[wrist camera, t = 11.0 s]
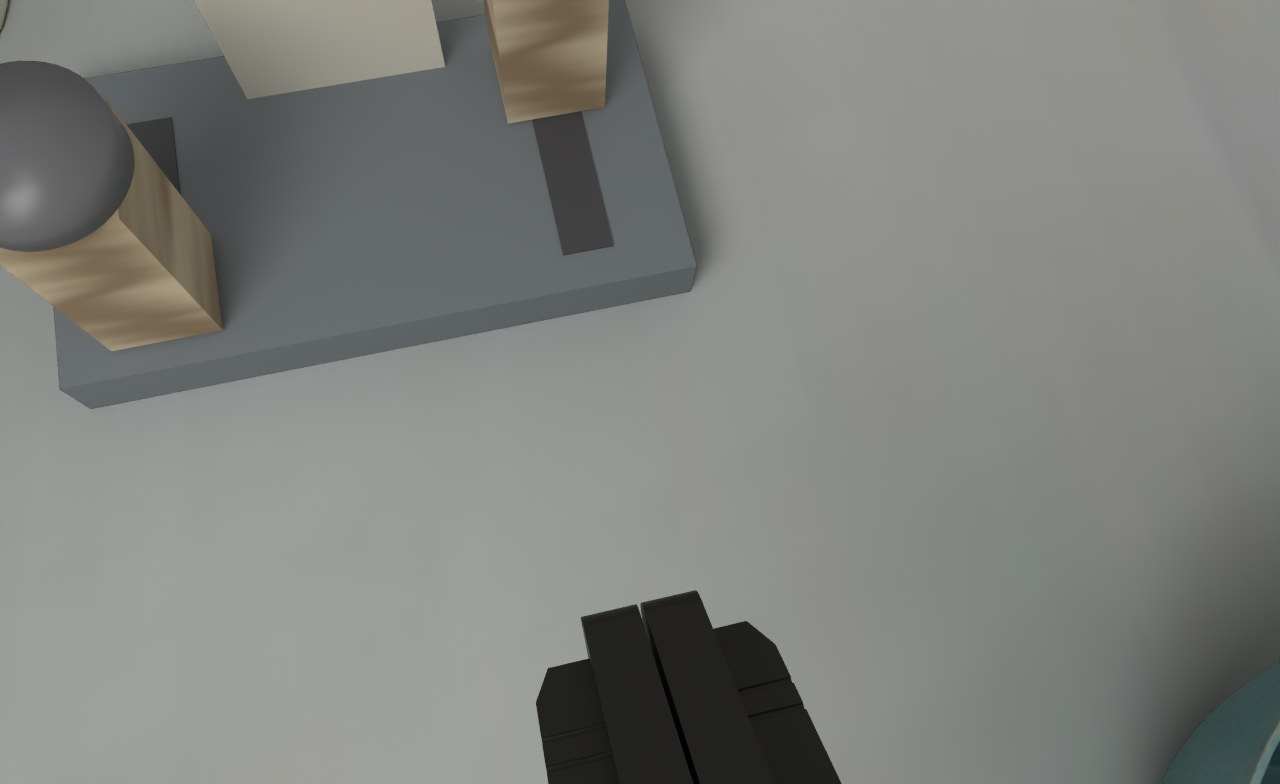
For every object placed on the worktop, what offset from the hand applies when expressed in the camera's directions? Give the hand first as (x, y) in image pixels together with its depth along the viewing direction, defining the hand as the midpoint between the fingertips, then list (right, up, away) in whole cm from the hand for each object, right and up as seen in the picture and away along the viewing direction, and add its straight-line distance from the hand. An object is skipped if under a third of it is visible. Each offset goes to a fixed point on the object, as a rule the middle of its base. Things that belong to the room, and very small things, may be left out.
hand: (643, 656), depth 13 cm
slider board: (-11, +11, +30) cm, 34 cm away
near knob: (-18, +7, +26) cm, 32 cm away
